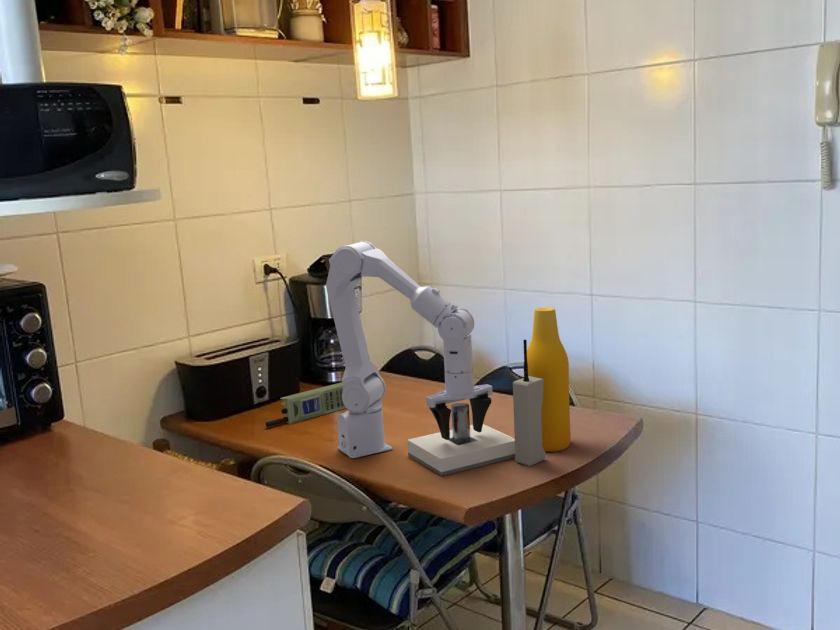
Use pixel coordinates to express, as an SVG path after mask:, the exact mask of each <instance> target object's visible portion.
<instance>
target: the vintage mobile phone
mask: <svg viewBox="0 0 840 630" xmlns="http://www.w3.org/2000/svg"><path fill="white" fill-rule="evenodd" d="M522 340H523V377H522V378H519V379H517V380H514V381H513V382H512V397H513V398H512V399H513V400H512V401H513V425H514V426H513V427H514V433H513V435H514V438H515V458H514V460H515V462H516V463H518V464H521V465H525V466H528V467H531V466H534V465H536V464H538V463H541V462H542V461H545V459H546V452H544V449H543V447H542V420H541V408H542V404H543V379H541V378H536V377H531V376H528V363H527V349H528V346H527V345H528V343H527V339H522Z"/></svg>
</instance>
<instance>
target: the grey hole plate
mask: <svg viewBox="0 0 840 630" xmlns="http://www.w3.org/2000/svg"><path fill="white" fill-rule="evenodd" d="M470 440H471V442H470V443H466V444H462V445H456V444H454V443H453V432H452V429H450V439H449V440H445V439H443V438H442V436H441V433H440V431H438V432H434V433H430V434H427V435H422V436H417V437H414V438H413V437H412V438H408V439H407V440H406V442H407V443H406V444H407V456H408V457H409V458H410V459H412V460H414V459H415V460H414V461H416V462H418V463H419V464H421V465H423V466H424V467H426V468H427V467H428V468H427V469H429V470H431V471H432V470H433V471H432V472H434V471H435V472H434V473H436V474H437V473H438V474H437V475H439V476H441V477H444V476H448V475H452V474H456V473H460V472H463V471H467V470H472V469H476V468H478V467H482V466H487V465H492V464H495V463H498V462H502V461H506V460H507V461H508V460H510V459H515V437H512V436H510V435H508V434H505V433H503V432H502V431H499V430H497V429H495V428H493V427H490V426H489V425H486V424H484V423H483V426H482V432H477V431H475V430H474V429H473V424H470ZM451 473H452V474H451ZM447 474H448V475H447ZM443 475H444V476H443Z"/></svg>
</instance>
